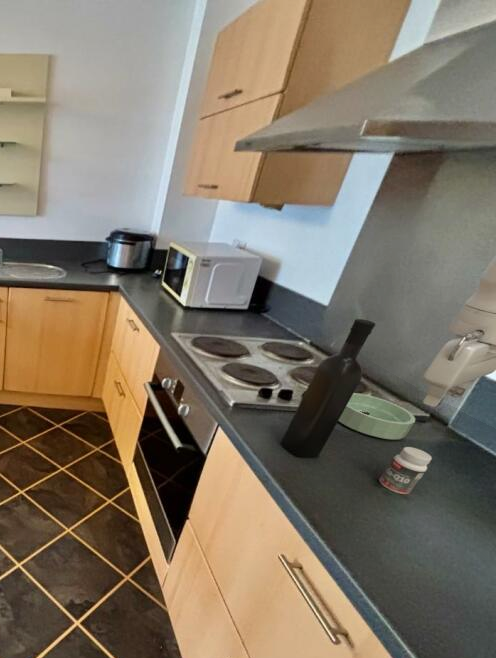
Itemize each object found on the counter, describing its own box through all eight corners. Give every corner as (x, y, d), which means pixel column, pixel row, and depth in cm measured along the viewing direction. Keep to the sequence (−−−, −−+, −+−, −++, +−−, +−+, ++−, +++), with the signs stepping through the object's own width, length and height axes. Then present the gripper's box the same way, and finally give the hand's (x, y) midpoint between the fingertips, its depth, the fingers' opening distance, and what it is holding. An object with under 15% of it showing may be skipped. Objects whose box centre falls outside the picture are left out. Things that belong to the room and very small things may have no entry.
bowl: (415, 433, 101) (426, 416, 98) (386, 447, 95) (397, 429, 92) (347, 404, 112) (356, 388, 110) (317, 415, 106) (326, 398, 104)
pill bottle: (373, 481, 83) (395, 448, 79) (386, 476, 85) (408, 443, 81) (401, 497, 79) (426, 463, 75) (414, 491, 81) (439, 457, 77)
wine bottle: (277, 442, 94) (339, 315, 80) (301, 442, 94) (366, 316, 80) (295, 458, 89) (364, 326, 75) (320, 458, 89) (393, 327, 75)
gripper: (493, 342, 61) (439, 420, 68) (540, 328, 70) (487, 399, 76) (438, 327, 66) (392, 401, 73) (488, 316, 75) (443, 383, 81)
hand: (441, 400), depth 75 cm, fingers open, 8 cm apart
